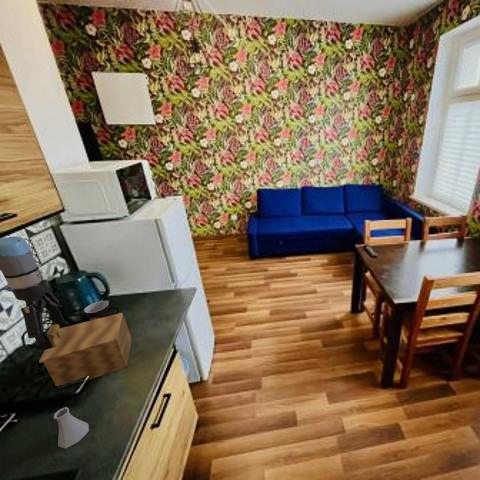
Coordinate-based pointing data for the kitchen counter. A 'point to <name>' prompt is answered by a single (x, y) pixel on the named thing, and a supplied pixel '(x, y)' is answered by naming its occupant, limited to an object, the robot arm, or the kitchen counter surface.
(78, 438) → the flask
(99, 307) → the coffee mug
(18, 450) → the kitchen counter surface
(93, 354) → the chest
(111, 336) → the knobbed wooden cover
